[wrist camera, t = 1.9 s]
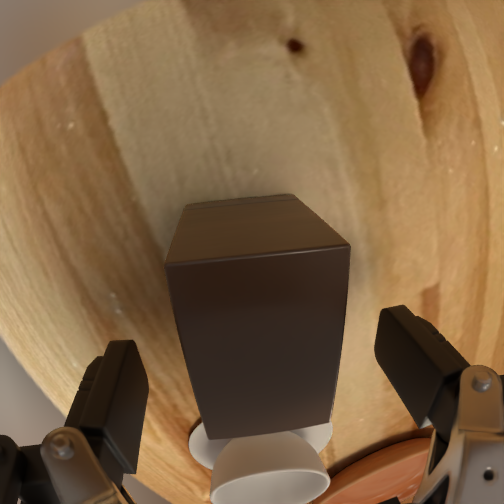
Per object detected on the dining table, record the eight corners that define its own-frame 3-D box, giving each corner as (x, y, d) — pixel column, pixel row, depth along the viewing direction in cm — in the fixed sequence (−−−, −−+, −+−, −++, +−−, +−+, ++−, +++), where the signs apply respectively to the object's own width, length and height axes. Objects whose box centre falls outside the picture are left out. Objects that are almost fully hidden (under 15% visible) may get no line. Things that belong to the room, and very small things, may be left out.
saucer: (294, 513, 26) (299, 533, 24) (326, 448, 21) (336, 478, 18) (410, 482, 28) (418, 499, 26) (469, 407, 23) (483, 426, 20)
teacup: (221, 379, 16) (225, 448, 12) (357, 406, 19) (382, 458, 14) (172, 459, 19) (170, 511, 15) (286, 475, 22) (296, 519, 17)
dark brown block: (184, 204, 13) (162, 264, 7) (293, 193, 13) (352, 244, 7) (206, 342, 15) (207, 441, 10) (295, 332, 16) (330, 423, 10)
